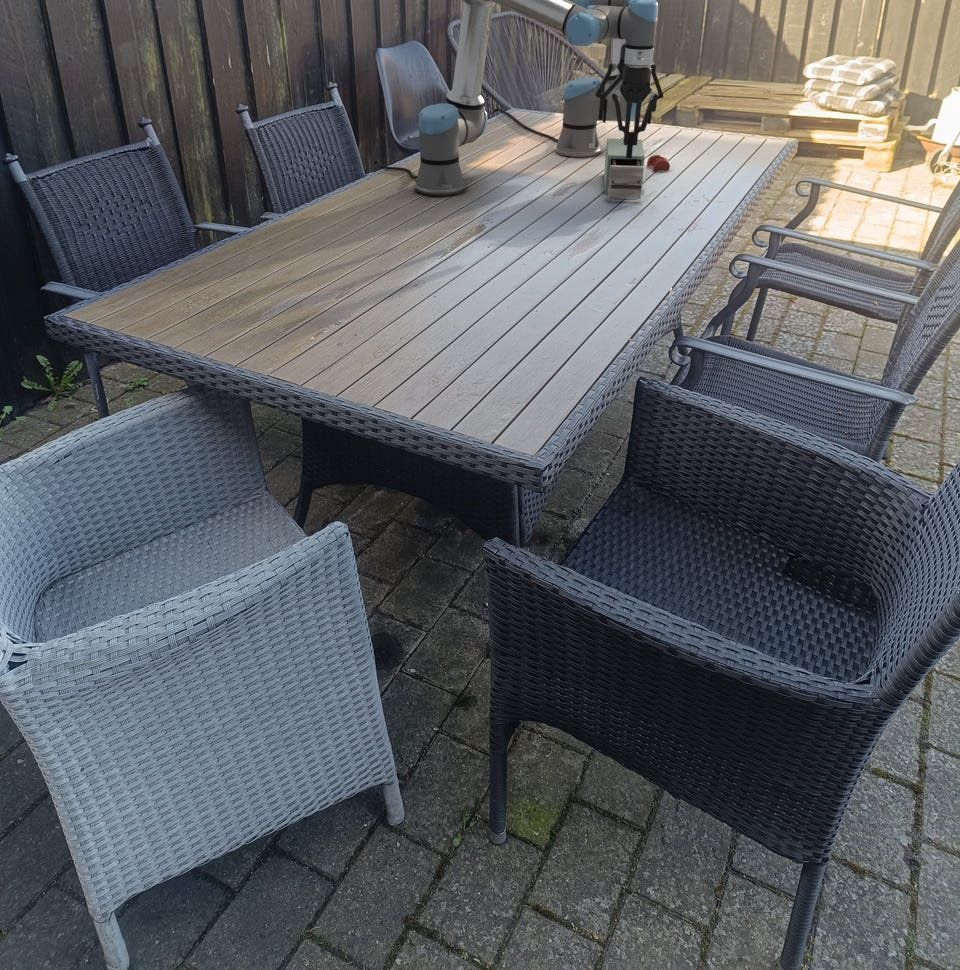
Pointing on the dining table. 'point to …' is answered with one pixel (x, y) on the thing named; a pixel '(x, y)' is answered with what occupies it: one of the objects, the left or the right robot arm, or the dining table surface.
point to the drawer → (625, 179)
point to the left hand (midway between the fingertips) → (628, 156)
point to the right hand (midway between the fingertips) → (626, 122)
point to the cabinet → (620, 155)
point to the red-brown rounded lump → (658, 163)
